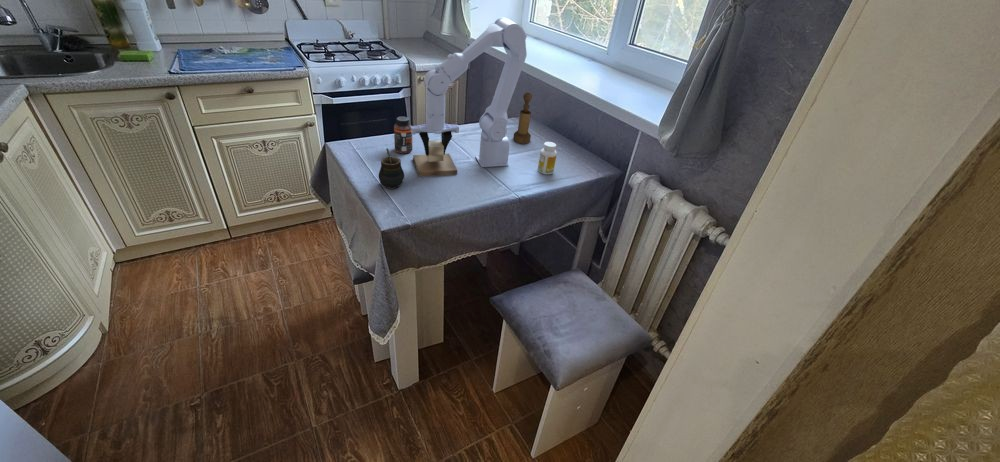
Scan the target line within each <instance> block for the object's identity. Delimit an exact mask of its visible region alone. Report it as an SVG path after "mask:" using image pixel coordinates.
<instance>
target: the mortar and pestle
mask: <svg viewBox="0 0 1000 462" xmlns="http://www.w3.org/2000/svg"><path fill="white" fill-rule="evenodd" d="M522 98H523V100H524V104H523V109H522V110H520V111H519V118H518V119H519V120H518V125H517V126H518V127H517V130H516V131H515V132H513V137H512V139H513V141H514V142H516V143H518V144H524V145H525V144H526V145H527V144H529V143H530V142H531V137H532V135H531V134H530V132H529V129H530V128H529V127H530V121H531V117H532V116H531V114H532V112H531V111H529V110H530V109H529V108H530V107H531V106H530V104H529V103H530V101H531V100H532V98H533V95H532V93H531V92H525V93H524V94H523V97H522Z"/></svg>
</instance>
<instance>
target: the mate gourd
mask: <svg viewBox="0 0 1000 462" xmlns="http://www.w3.org/2000/svg"><path fill="white" fill-rule="evenodd" d="M385 149H386V154H387V156H385V157H383V158H381V160H380V168H379V170H378V171H379V172H378V180H379V183H380V184H381V186H382V187H384V188H387V189H396V188H399V186H401V185H402V184H403V183H404V179H405V172H404V169H403V167H402V163H401V162H402V161H401V159H400V158H399V157H396V156H391V154H390V151H389V148H385Z"/></svg>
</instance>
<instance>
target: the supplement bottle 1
mask: <svg viewBox="0 0 1000 462" xmlns="http://www.w3.org/2000/svg"><path fill="white" fill-rule="evenodd" d="M411 126H412V124H411V123H410V118H409V117H407V116H398V117H396V123H395V124H394V125H393V136H394V137H393V138H394V139H393V140H394V141H393V143H394V151H395V152H396V153H399V154H404V155H405V154H409V153H411V152H413V135H412V133H411Z"/></svg>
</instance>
